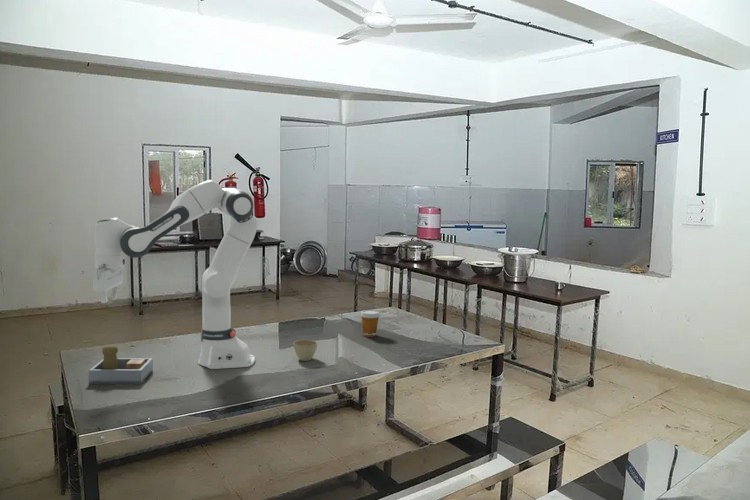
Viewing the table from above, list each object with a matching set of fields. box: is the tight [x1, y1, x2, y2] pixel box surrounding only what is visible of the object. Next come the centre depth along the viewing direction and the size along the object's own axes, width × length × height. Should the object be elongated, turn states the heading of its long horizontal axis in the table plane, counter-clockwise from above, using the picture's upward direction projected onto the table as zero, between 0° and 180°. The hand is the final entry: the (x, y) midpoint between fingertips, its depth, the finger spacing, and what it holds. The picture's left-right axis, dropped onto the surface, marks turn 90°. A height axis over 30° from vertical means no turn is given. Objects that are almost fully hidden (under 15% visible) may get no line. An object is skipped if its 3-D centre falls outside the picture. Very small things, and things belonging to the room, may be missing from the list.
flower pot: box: [293, 339, 318, 362], centre depth 233 cm, size 10×10×7 cm
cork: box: [101, 344, 119, 369], centre depth 203 cm, size 6×6×11 cm
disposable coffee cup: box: [360, 309, 381, 338], centre depth 273 cm, size 10×10×12 cm
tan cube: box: [126, 359, 145, 369], centre depth 205 cm, size 5×5×5 cm
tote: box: [88, 357, 154, 385], centre depth 204 cm, size 18×14×5 cm
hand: (109, 300), depth 201 cm, fingers open, 8 cm apart
